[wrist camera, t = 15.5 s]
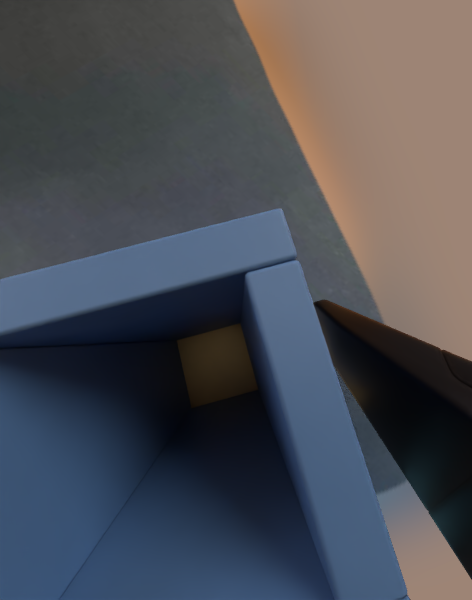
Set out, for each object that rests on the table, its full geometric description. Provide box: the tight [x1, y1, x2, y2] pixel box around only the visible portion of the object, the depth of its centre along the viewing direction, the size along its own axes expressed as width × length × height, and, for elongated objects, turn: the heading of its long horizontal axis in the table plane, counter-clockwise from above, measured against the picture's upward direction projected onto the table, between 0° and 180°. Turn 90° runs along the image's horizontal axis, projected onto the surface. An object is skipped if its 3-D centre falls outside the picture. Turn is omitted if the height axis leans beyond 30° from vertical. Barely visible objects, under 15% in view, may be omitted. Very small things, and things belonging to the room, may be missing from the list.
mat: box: [176, 323, 258, 408], centre depth 14 cm, size 10×10×1 cm
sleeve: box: [0, 209, 410, 600], centre depth 8 cm, size 6×6×11 cm
